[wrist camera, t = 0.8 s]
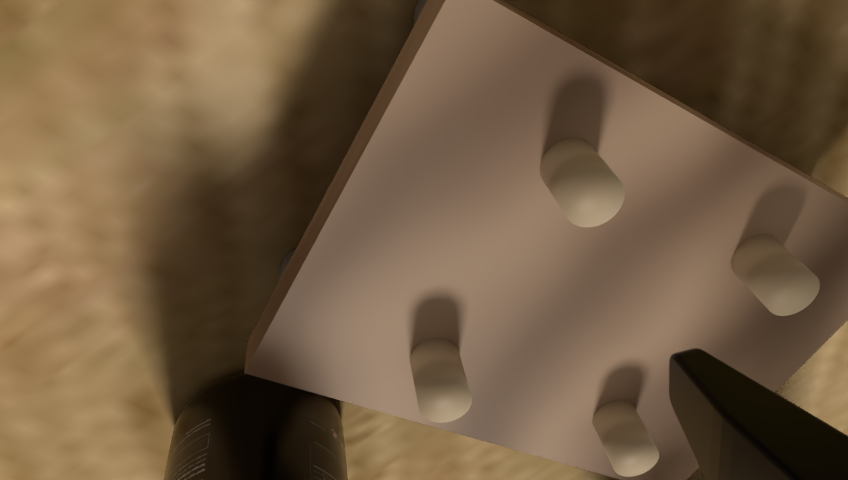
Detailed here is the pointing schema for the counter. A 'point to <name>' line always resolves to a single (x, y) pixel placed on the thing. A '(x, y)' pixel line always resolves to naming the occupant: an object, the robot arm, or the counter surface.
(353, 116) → the counter surface
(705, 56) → the counter surface
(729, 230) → the peg shelf
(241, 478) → the supplement bottle
